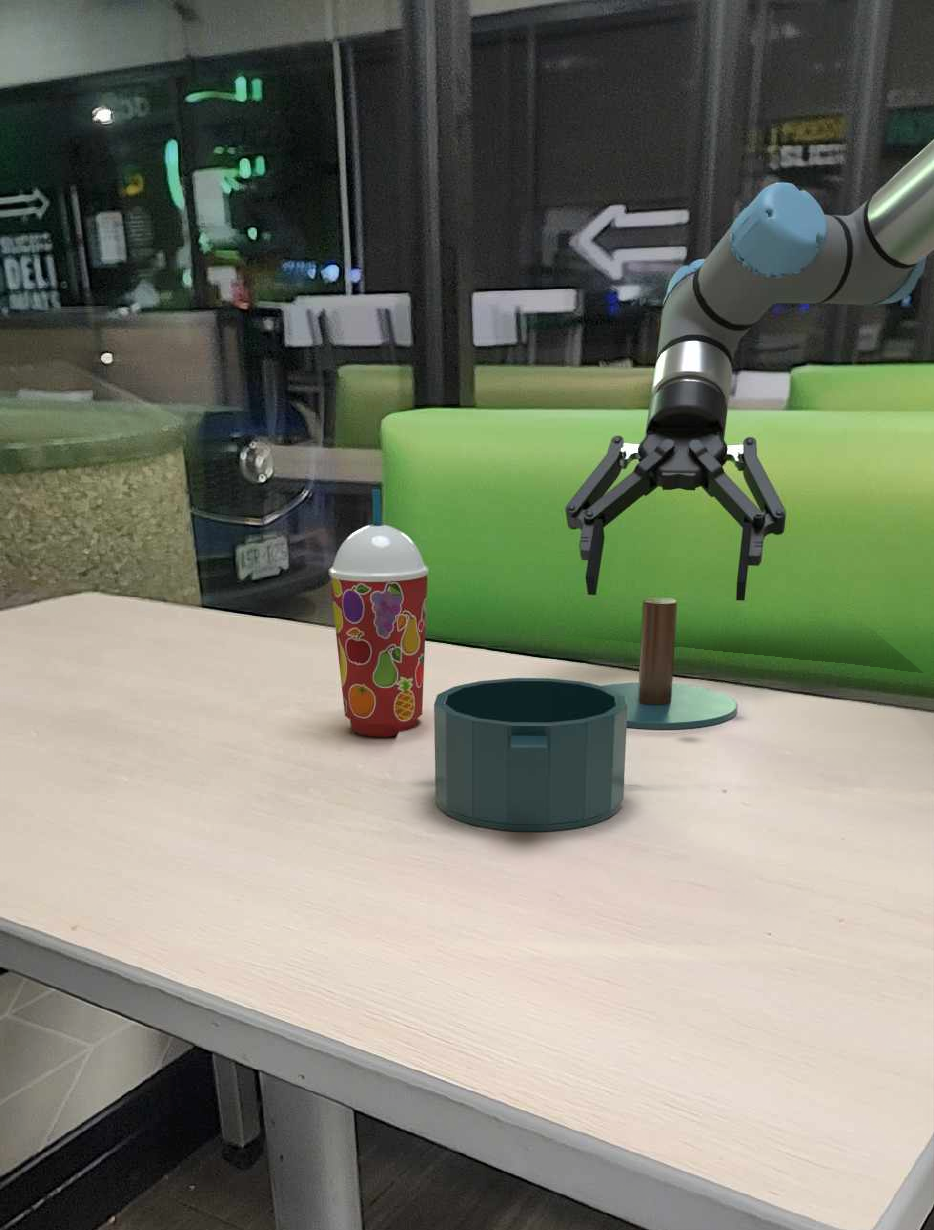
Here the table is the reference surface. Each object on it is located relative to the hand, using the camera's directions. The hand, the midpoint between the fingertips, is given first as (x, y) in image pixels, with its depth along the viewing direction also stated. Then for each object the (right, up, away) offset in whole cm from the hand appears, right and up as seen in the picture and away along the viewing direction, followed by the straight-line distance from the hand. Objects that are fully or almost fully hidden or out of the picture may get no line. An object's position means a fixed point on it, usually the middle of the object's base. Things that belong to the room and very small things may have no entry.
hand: (664, 589), depth 115 cm
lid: (-1, -11, 0) cm, 11 cm away
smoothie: (-25, -14, -4) cm, 29 cm away
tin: (-13, -21, -22) cm, 33 cm away
